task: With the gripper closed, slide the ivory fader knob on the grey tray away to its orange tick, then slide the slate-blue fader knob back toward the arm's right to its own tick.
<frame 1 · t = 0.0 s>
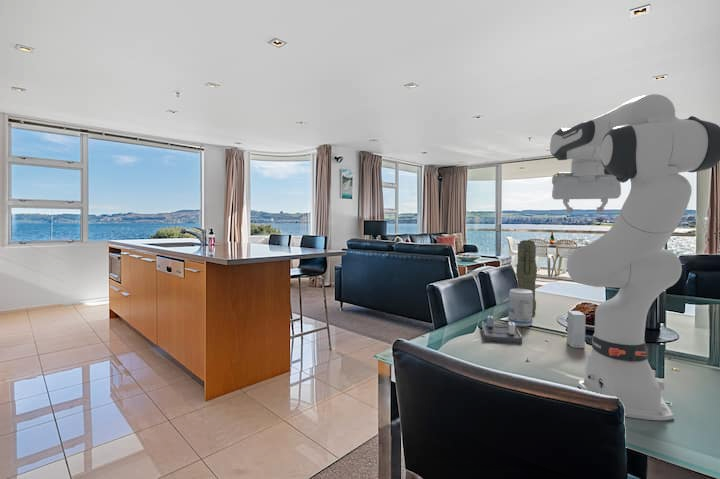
hand: (584, 212, 129), 48 cm above the table, fingers open, 8 cm apart
supplement tub: (520, 324, 164), on the table
fader slate: (490, 321, 153), point 4 cm above the table, slide at 3.5 cm
skincare box: (575, 345, 137), on the table
fader ivory: (511, 327, 144), point 4 cm above the table, slide at -3.5 cm
grey tray: (500, 335, 149), on the table
green cactus: (525, 313, 181), on the table
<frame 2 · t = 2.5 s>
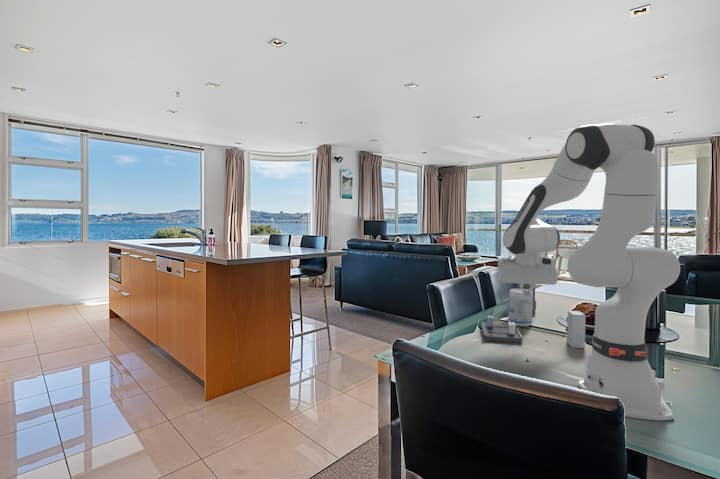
hand: (526, 295, 142), 17 cm above the table, fingers closed
nothing on the table moved.
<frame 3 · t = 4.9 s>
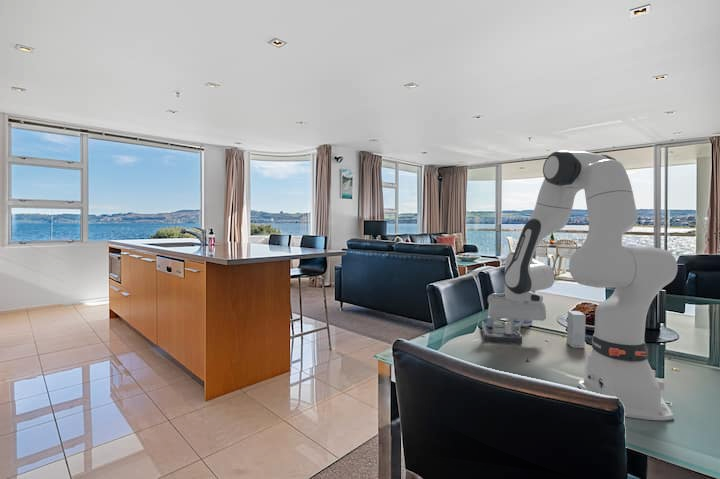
hand: (516, 330, 144), 3 cm above the table, fingers closed
fader ivory: (507, 327, 144), point 4 cm above the table, slide at -2.2 cm, touching gripper
everything else where it was.
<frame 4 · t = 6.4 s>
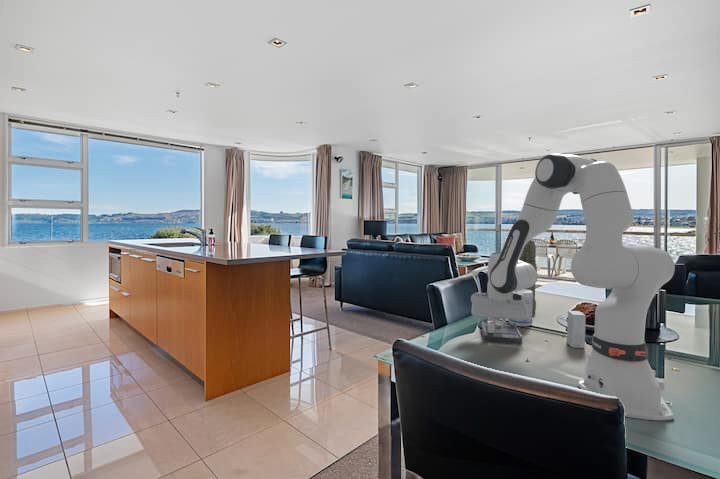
hand: (498, 329, 145), 3 cm above the table, fingers closed
fader ivory: (490, 326, 146), point 4 cm above the table, slide at 4.1 cm, touching gripper
everything else where it was.
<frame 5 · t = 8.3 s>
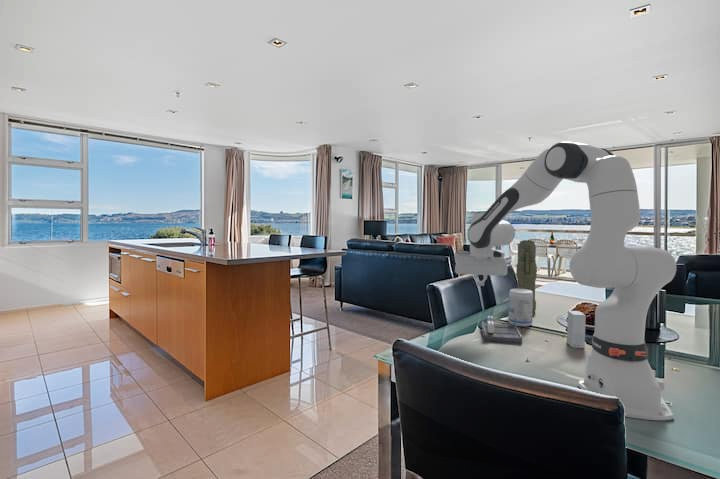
hand: (480, 285, 153), 19 cm above the table, fingers closed
fader ivory: (490, 326, 146), point 4 cm above the table, slide at 4.1 cm
everything else where it was.
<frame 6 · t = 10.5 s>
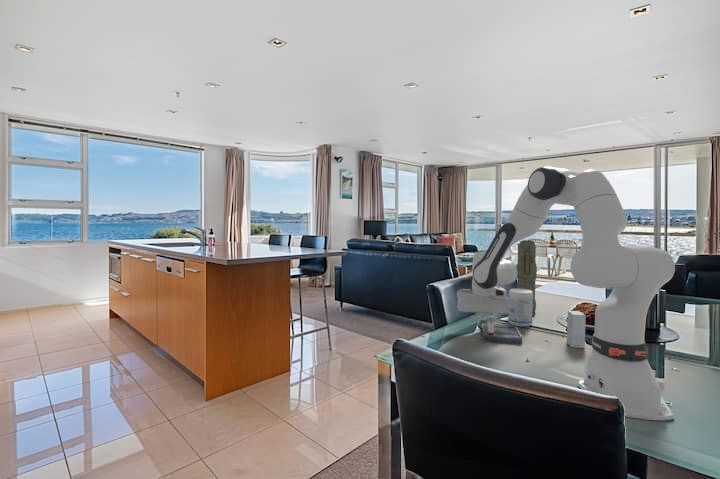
hand: (482, 323, 154), 3 cm above the table, fingers closed
fader slate: (490, 321, 153), point 4 cm above the table, slide at 3.4 cm, touching gripper
everything else where it was.
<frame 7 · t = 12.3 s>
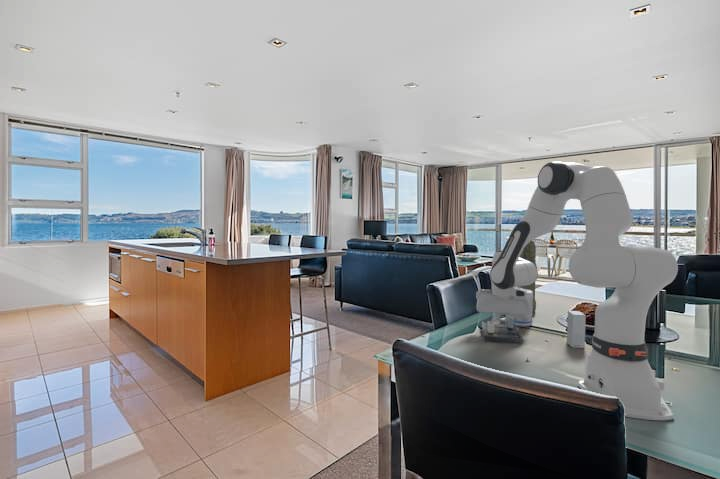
hand: (502, 324, 152), 3 cm above the table, fingers closed
fader slate: (510, 322, 151), point 4 cm above the table, slide at -4.1 cm, touching gripper
everything else where it was.
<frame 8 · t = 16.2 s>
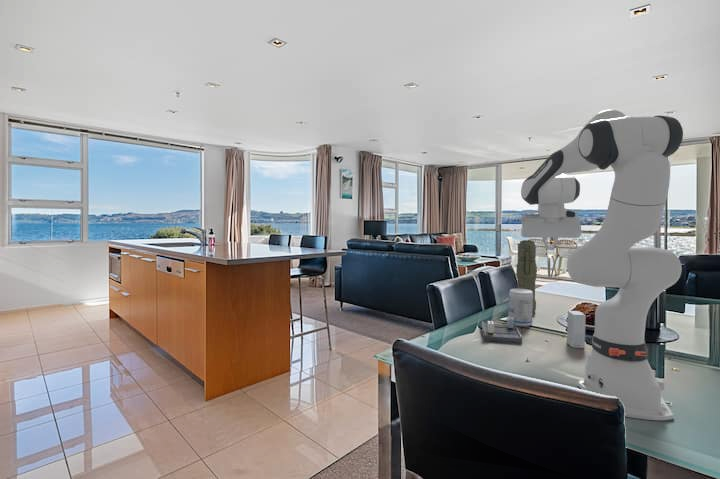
hand: (549, 249, 142), 34 cm above the table, fingers closed
fader slate: (510, 322, 151), point 4 cm above the table, slide at -4.1 cm
everything else where it was.
at the end: fader ivory slide at 4.1 cm; fader slate slide at -4.1 cm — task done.
